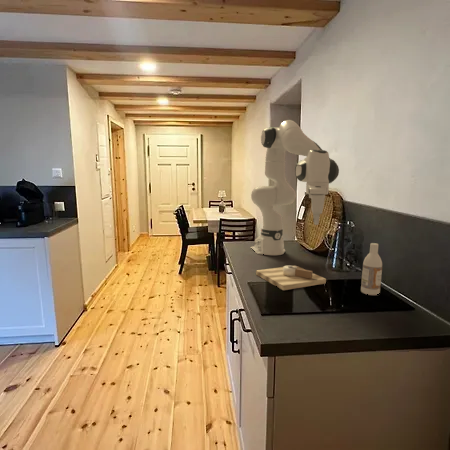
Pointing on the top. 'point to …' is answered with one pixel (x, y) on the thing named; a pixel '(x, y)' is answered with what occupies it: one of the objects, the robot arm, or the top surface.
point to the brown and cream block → (297, 272)
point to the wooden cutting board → (288, 279)
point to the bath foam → (372, 272)
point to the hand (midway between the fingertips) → (315, 223)
